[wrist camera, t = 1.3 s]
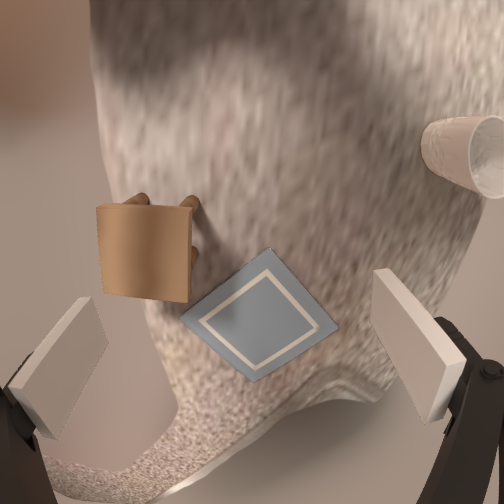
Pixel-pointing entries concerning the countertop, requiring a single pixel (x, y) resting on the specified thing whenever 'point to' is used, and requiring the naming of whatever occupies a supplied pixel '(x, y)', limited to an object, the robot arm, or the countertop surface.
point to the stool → (147, 248)
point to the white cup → (467, 152)
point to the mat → (260, 317)
